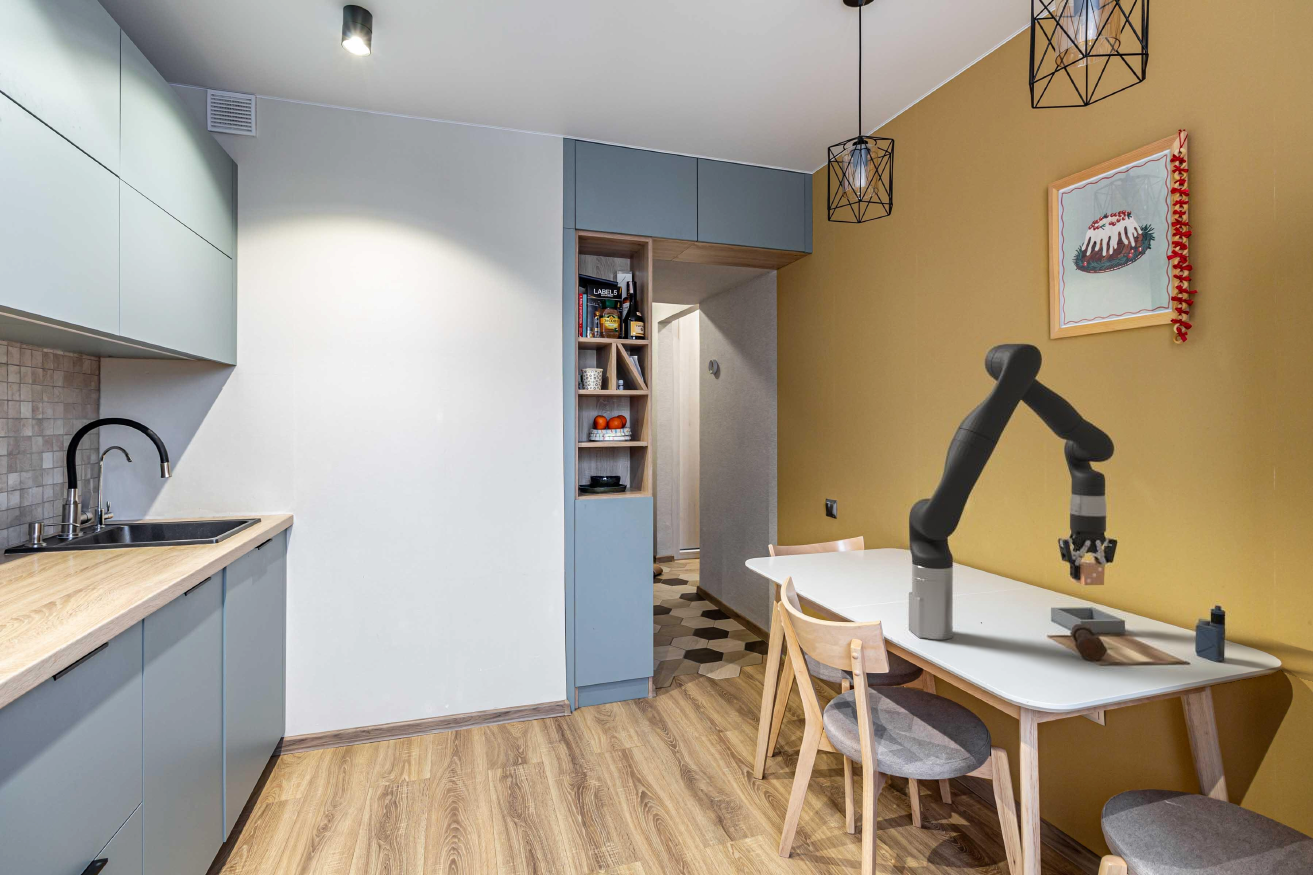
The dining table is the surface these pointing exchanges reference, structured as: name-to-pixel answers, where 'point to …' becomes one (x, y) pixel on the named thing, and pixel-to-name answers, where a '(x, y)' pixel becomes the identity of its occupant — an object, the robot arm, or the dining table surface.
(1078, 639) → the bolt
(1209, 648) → the vaping device
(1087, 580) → the die
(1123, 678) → the dining table surface
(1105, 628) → the tray
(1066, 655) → the dining table surface
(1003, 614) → the dining table surface
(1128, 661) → the board
